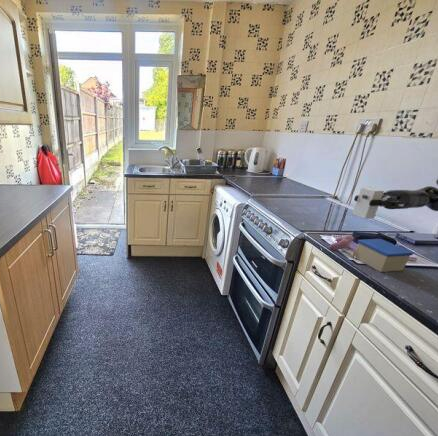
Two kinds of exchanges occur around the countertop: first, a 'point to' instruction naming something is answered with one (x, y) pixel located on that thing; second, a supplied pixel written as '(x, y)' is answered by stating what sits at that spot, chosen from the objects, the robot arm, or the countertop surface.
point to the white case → (367, 202)
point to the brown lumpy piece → (342, 242)
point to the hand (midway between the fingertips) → (362, 200)
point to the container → (382, 255)
